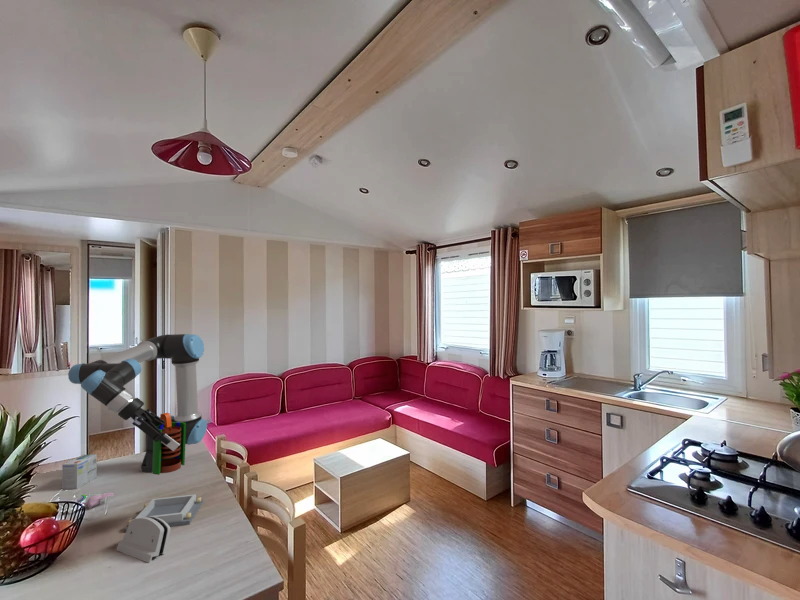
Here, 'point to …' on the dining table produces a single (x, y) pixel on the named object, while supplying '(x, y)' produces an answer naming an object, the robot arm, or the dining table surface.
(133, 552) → the grey arched block
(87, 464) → the light bulb box
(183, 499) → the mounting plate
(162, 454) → the motor
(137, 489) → the dining table surface
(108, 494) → the rabbit figure
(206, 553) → the dining table surface
